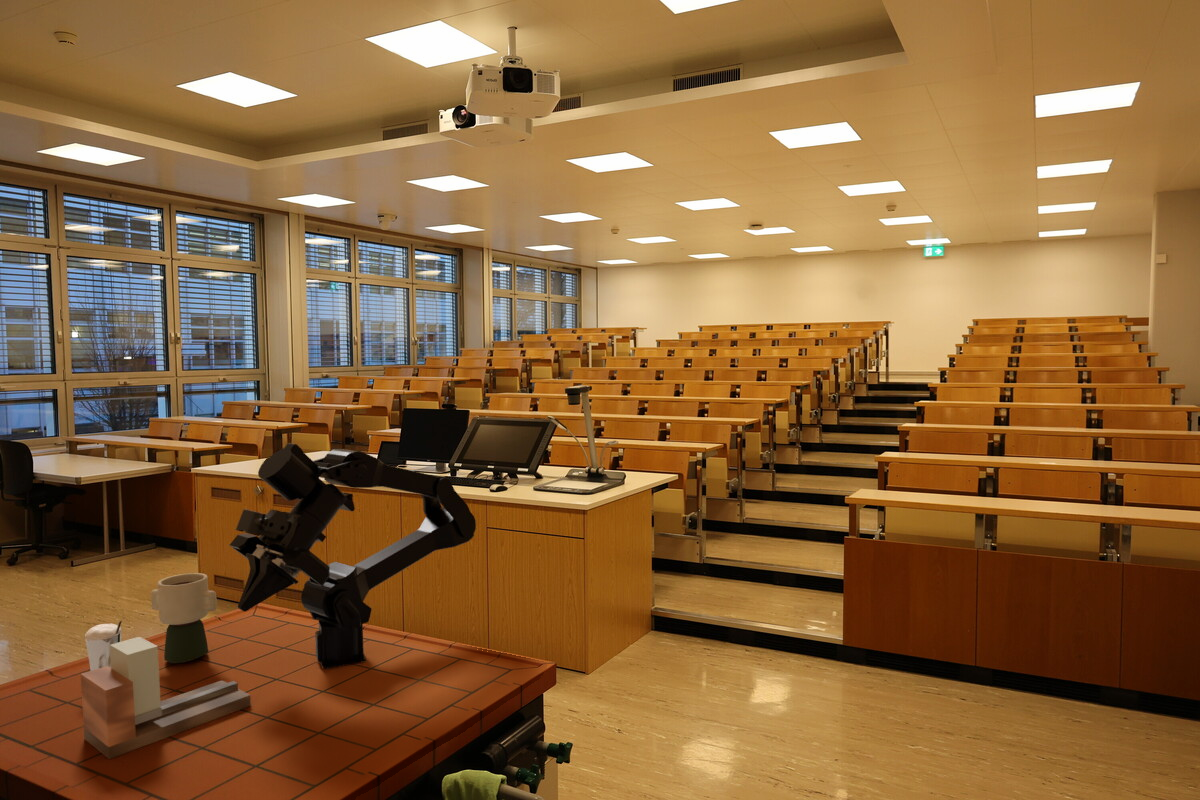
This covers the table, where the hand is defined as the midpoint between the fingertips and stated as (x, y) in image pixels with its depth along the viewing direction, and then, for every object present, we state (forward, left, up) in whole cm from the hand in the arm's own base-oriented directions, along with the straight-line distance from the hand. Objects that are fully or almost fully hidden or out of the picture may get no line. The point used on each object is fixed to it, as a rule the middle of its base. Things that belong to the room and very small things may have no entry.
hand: (241, 609), depth 109 cm
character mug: (+8, -19, -13) cm, 24 cm away
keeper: (+13, +6, -10) cm, 17 cm away
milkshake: (+18, -13, -13) cm, 25 cm away
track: (+9, +4, -12) cm, 16 cm away
